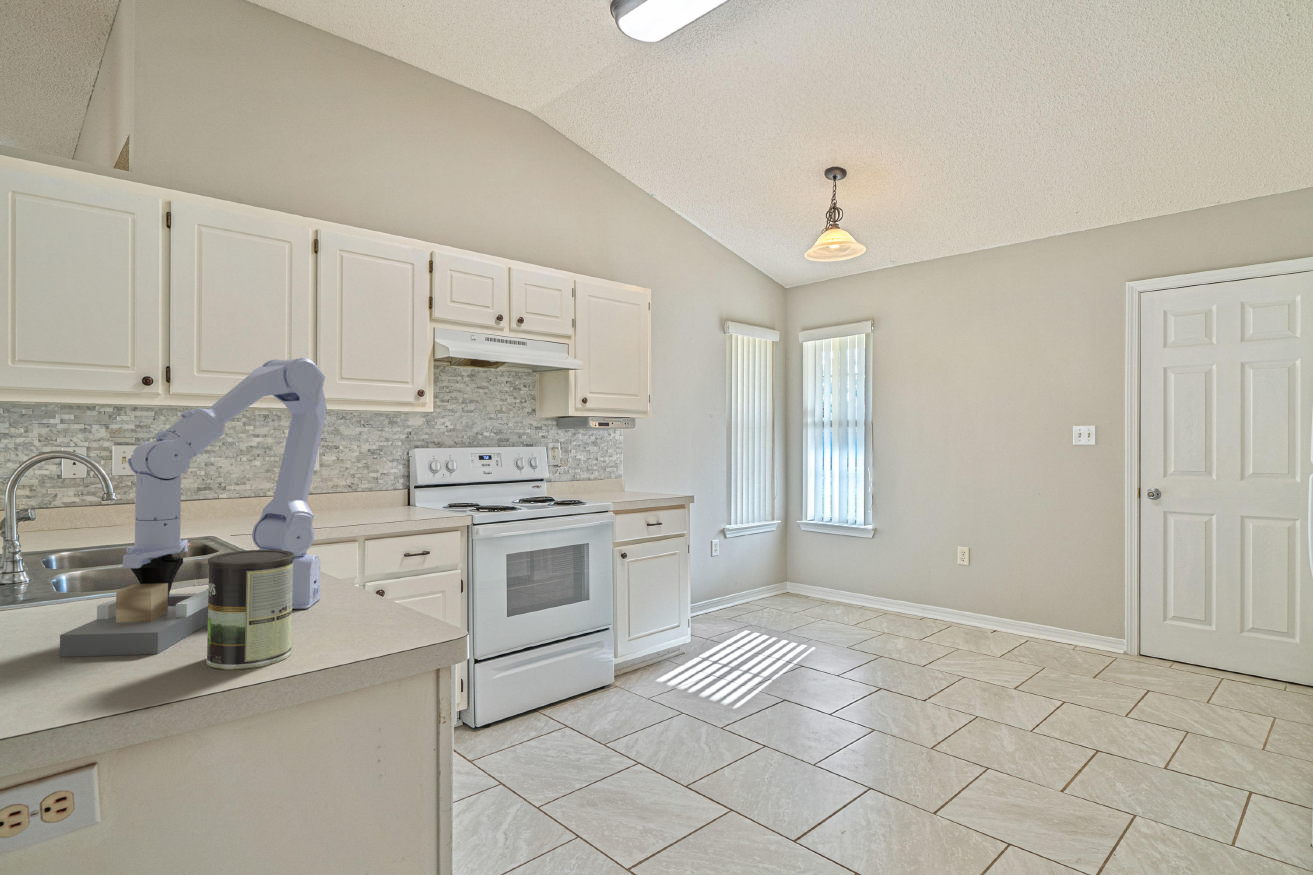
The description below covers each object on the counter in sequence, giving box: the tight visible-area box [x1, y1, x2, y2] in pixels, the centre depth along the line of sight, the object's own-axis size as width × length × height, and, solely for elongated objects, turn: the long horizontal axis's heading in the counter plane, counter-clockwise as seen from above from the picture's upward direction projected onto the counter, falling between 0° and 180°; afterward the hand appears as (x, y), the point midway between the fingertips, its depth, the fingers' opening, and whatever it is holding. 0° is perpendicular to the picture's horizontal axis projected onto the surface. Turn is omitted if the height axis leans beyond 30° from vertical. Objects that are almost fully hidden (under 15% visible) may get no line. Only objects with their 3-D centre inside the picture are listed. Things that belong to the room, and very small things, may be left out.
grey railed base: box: [59, 588, 209, 658], centre depth 107 cm, size 12×24×5 cm, turn 10°
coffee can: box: [205, 549, 294, 671], centre depth 95 cm, size 10×10×14 cm
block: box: [115, 583, 168, 623], centre depth 103 cm, size 5×5×5 cm
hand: (156, 606), depth 107 cm, fingers closed
